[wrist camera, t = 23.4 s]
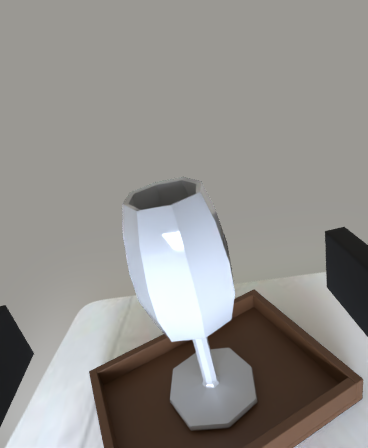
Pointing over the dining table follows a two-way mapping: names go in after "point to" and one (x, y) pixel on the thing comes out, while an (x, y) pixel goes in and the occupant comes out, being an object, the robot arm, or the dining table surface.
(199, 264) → the wineglass
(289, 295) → the dining table surface
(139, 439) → the serving tray
